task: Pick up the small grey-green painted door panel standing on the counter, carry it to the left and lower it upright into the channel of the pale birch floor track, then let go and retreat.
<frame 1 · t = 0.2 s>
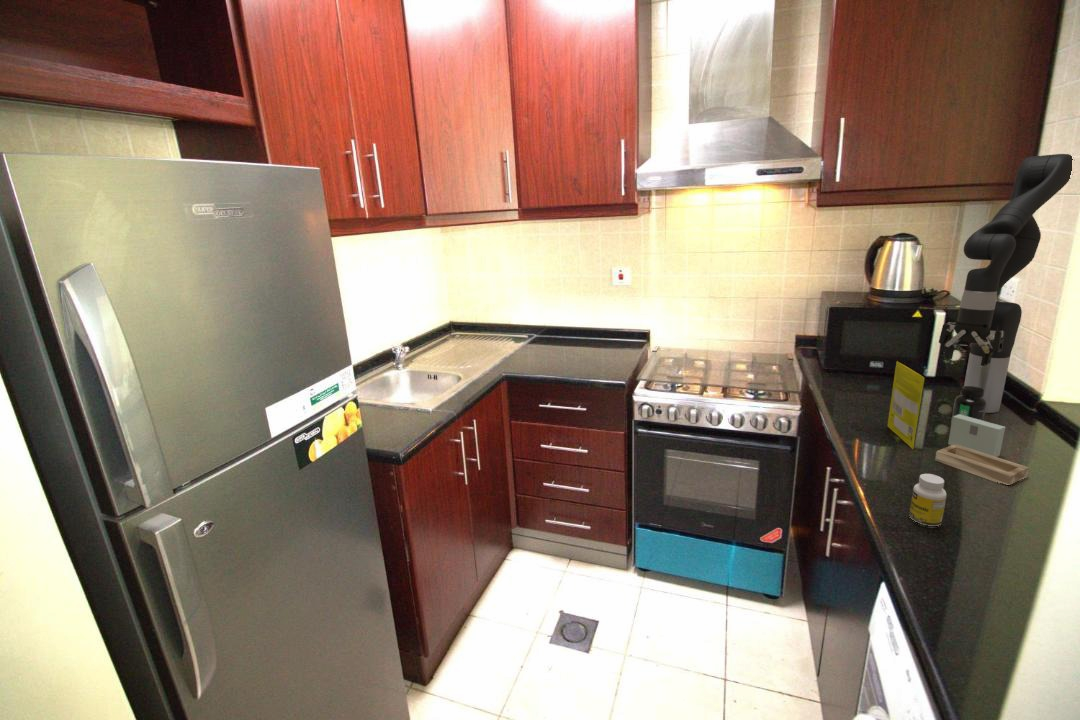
hand: (965, 362, 147), 17 cm above the worktop, tool pointing down, fingers open, 8 cm apart
supplement bottle 2: (924, 521, 105), on the worktop
food package: (899, 438, 142), on the worktop
door panel: (972, 450, 133), on the worktop
supplement bottle: (965, 429, 145), on the worktop
track: (979, 468, 123), on the worktop
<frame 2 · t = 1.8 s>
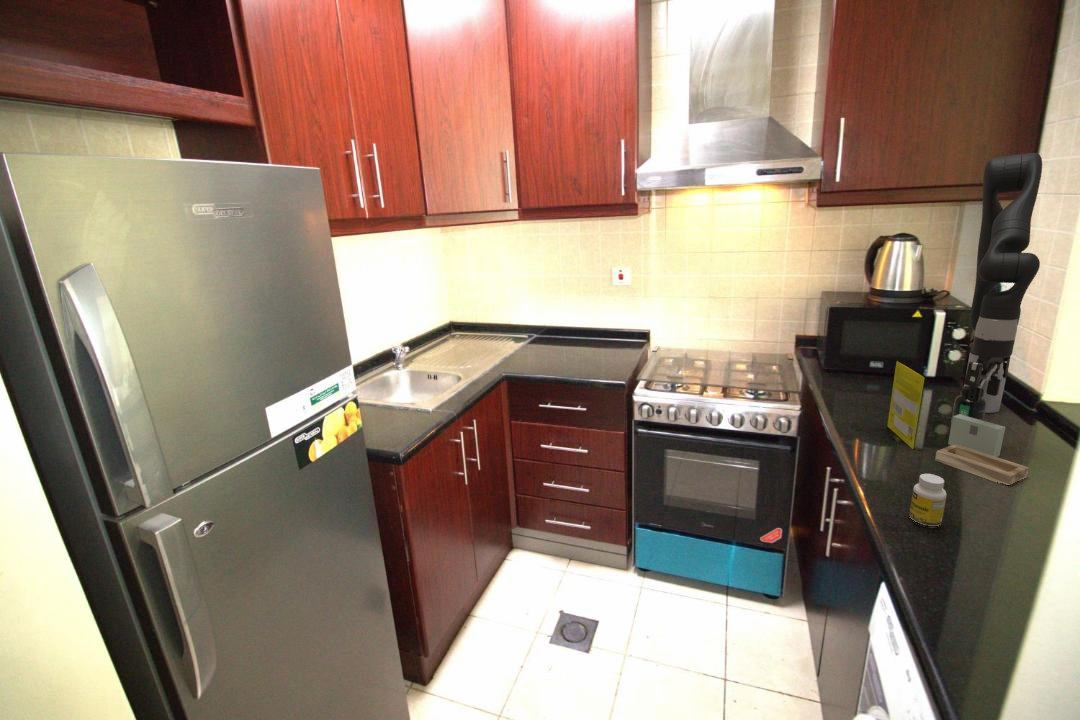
hand: (982, 398, 129), 14 cm above the worktop, tool pointing down, fingers open, 8 cm apart
nothing on the worktop moved.
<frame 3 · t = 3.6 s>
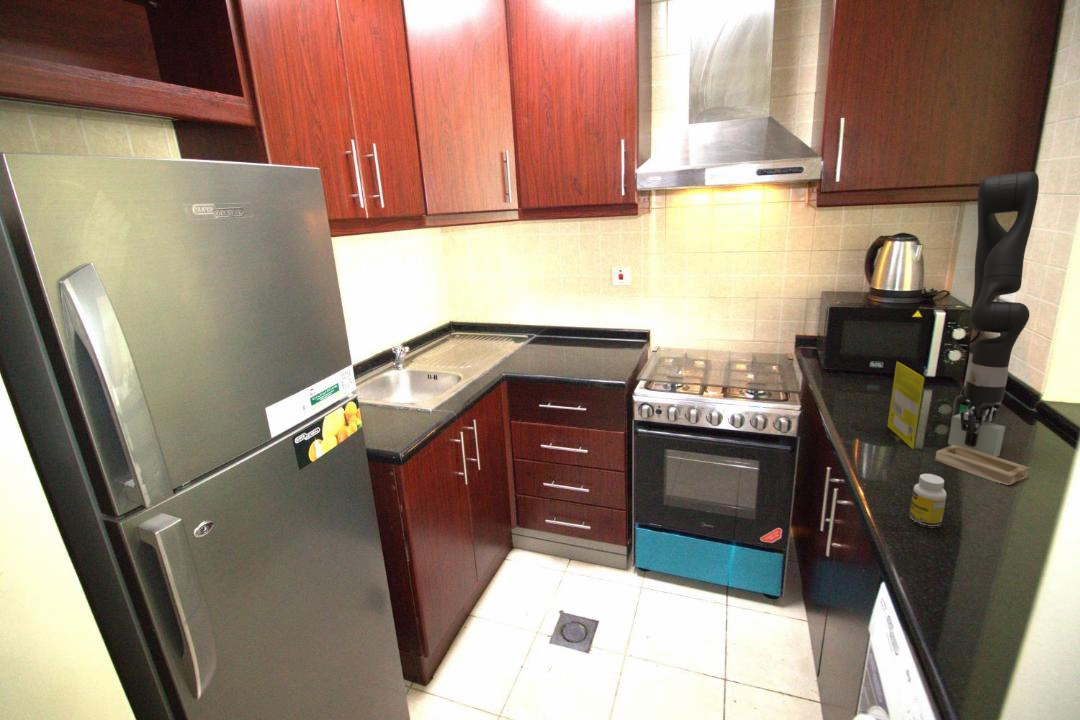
hand: (973, 443, 132), 2 cm above the worktop, tool pointing down, fingers closed on door panel, 3 cm apart
door panel: (972, 449, 133), on the worktop, touching gripper
everything else where it was.
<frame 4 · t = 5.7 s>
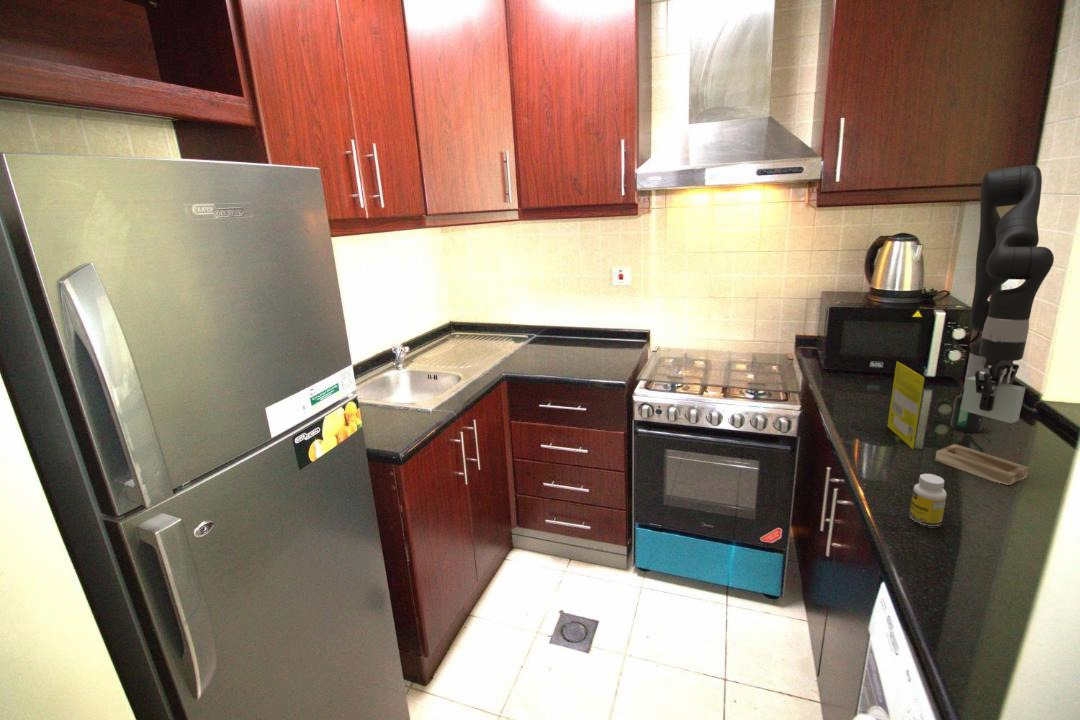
hand: (989, 408, 119), 16 cm above the worktop, tool pointing down, fingers closed on door panel, 3 cm apart
door panel: (988, 415, 120), point 14 cm above the worktop, touching gripper
everything else where it was.
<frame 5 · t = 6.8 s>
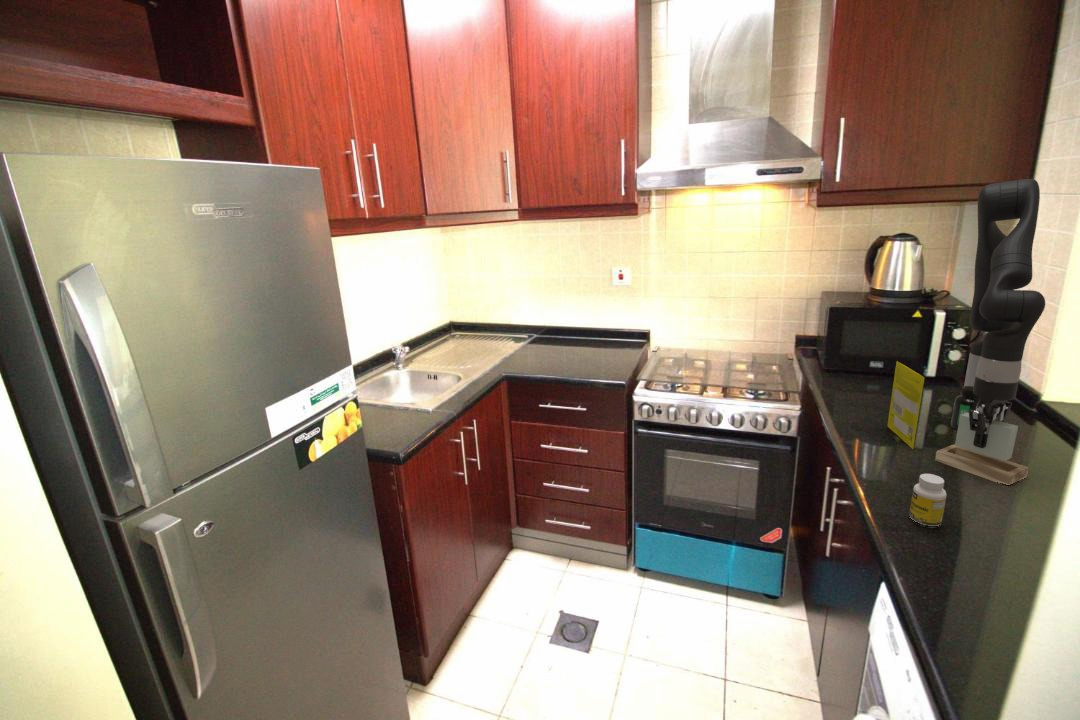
hand: (983, 444, 122), 6 cm above the worktop, tool pointing down, fingers closed on door panel, 3 cm apart
door panel: (982, 451, 122), point 5 cm above the worktop, touching gripper
everything else where it was.
when the fingers open (4 cm above the worktop, at t = 7.7 s): door panel drops 1 cm, resting on track.
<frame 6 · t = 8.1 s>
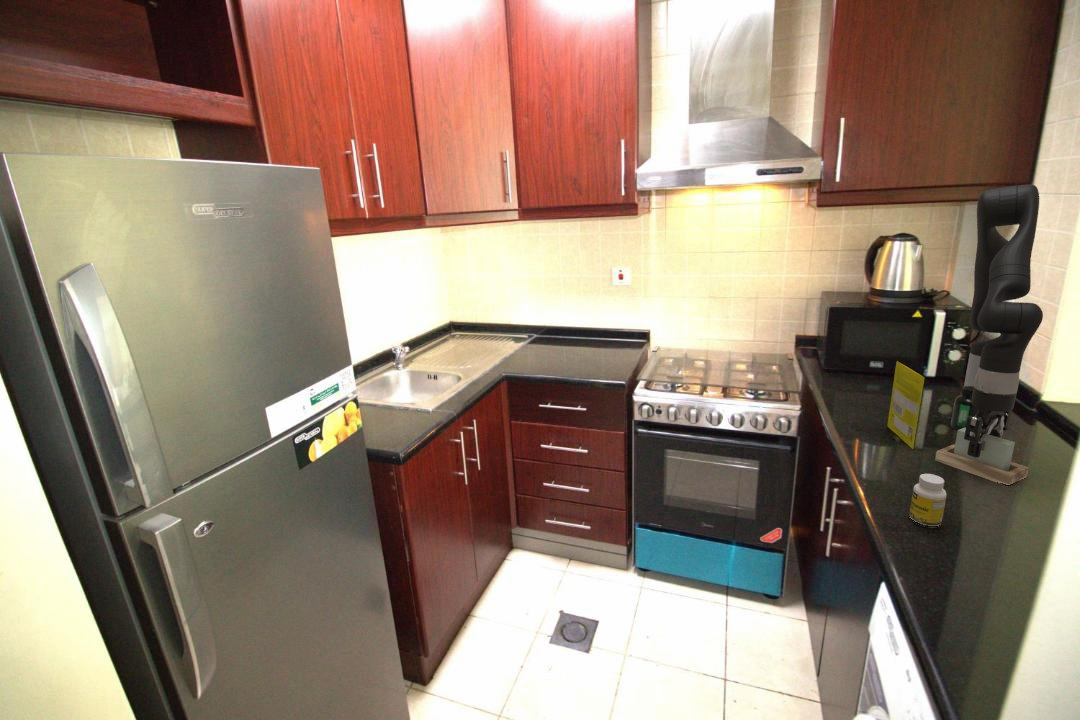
hand: (982, 452, 122), 4 cm above the worktop, tool pointing down, fingers open, 7 cm apart
door panel: (979, 466, 123), point 1 cm above the worktop, touching track
everything else where it was.
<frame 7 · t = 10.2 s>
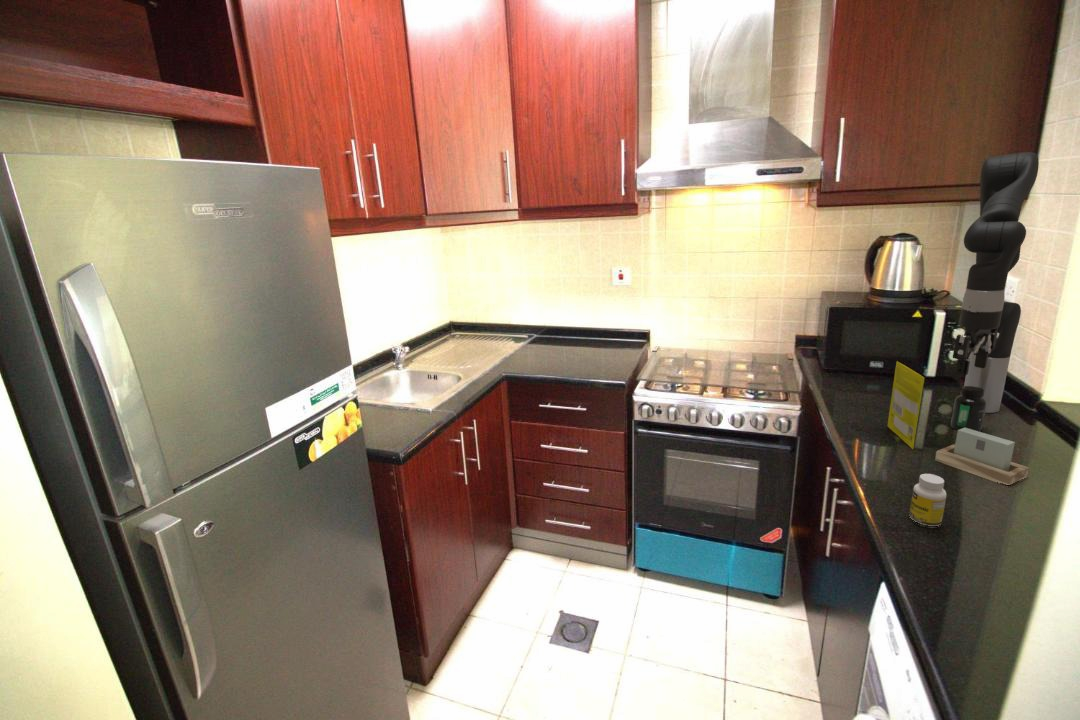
hand: (970, 371, 127), 22 cm above the worktop, tool pointing down, fingers open, 8 cm apart
nothing on the worktop moved.
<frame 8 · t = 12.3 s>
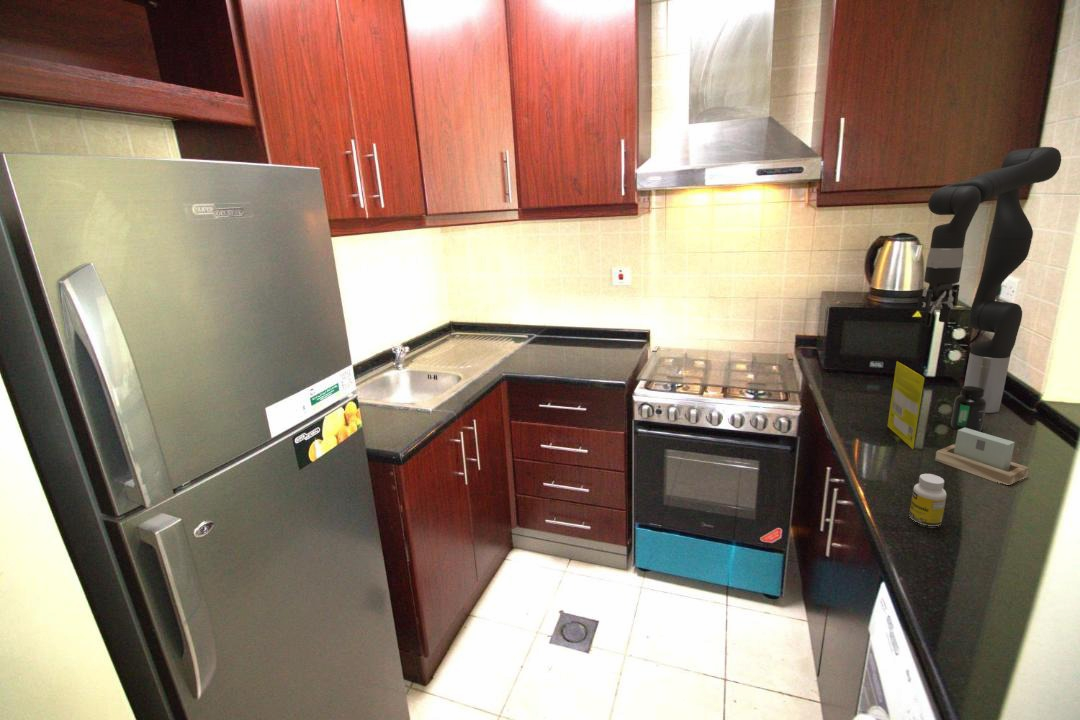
hand: (934, 324, 141), 30 cm above the worktop, tool pointing down, fingers open, 8 cm apart
nothing on the worktop moved.
at the end: door panel 0.1 cm off-centre on the track, point 0.6 cm above the track's base; door panel tilted 0°; the gripper is holding nothing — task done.
